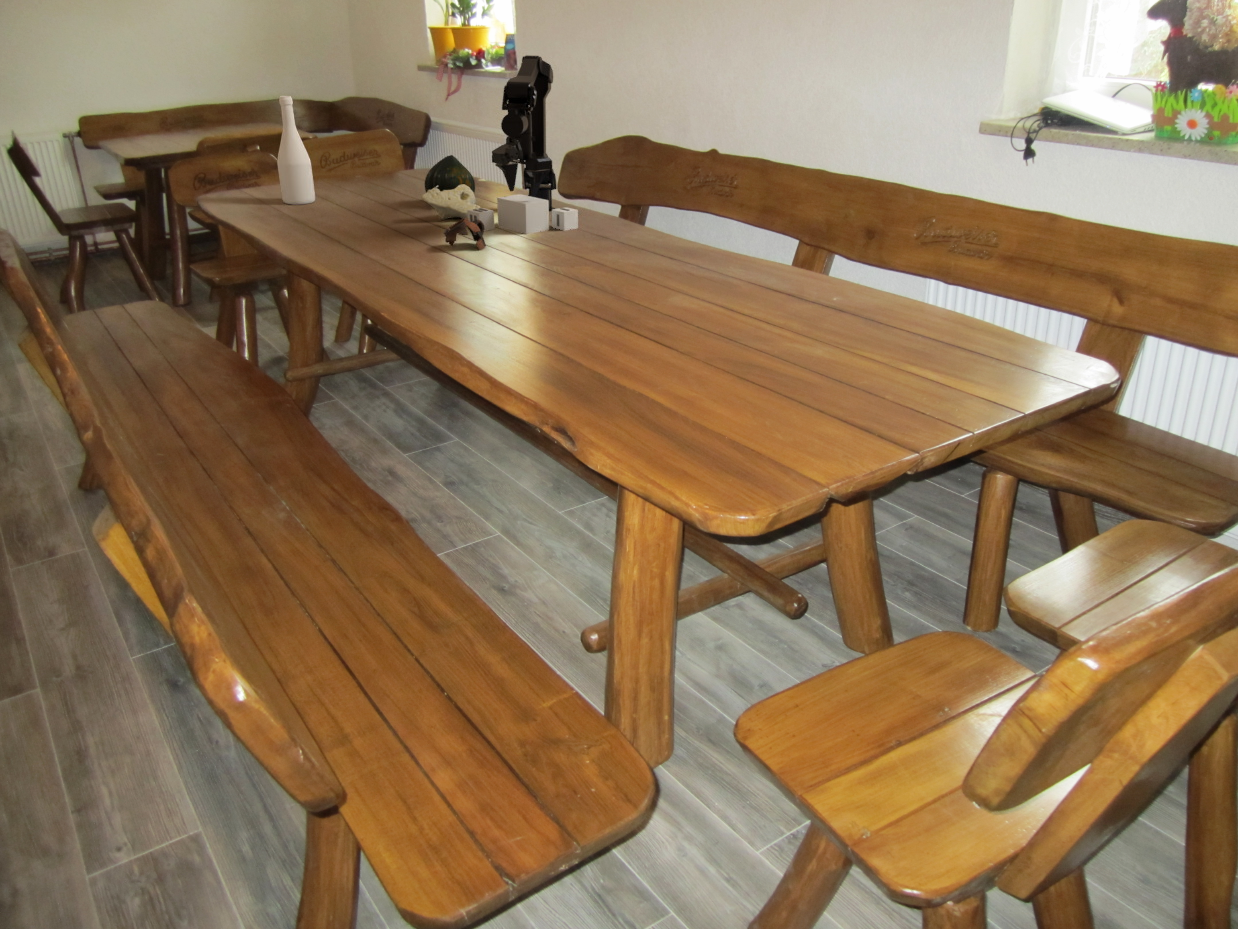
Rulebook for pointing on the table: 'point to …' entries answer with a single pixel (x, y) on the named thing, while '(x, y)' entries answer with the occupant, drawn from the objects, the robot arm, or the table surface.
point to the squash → (448, 175)
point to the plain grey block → (523, 213)
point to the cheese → (451, 201)
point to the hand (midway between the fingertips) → (522, 193)
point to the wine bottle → (293, 161)
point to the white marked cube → (482, 217)
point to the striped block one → (565, 218)
